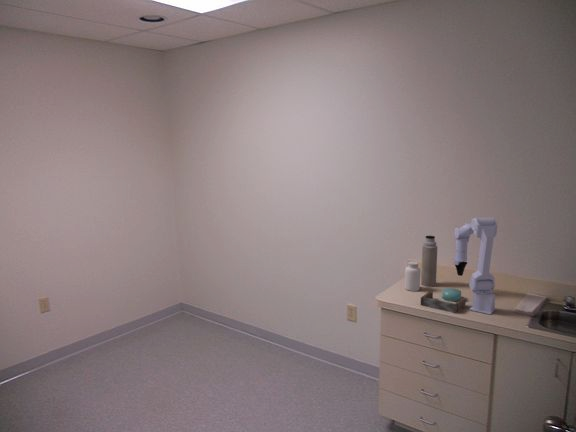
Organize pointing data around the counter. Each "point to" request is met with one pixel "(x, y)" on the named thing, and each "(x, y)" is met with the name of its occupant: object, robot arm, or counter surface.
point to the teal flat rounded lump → (451, 294)
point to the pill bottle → (412, 277)
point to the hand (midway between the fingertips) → (460, 275)
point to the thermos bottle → (429, 262)
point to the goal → (442, 303)
